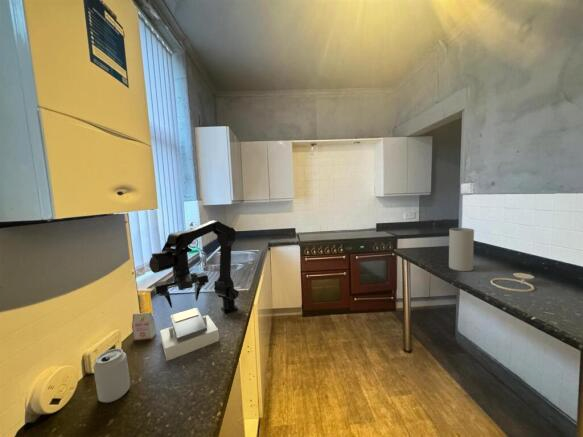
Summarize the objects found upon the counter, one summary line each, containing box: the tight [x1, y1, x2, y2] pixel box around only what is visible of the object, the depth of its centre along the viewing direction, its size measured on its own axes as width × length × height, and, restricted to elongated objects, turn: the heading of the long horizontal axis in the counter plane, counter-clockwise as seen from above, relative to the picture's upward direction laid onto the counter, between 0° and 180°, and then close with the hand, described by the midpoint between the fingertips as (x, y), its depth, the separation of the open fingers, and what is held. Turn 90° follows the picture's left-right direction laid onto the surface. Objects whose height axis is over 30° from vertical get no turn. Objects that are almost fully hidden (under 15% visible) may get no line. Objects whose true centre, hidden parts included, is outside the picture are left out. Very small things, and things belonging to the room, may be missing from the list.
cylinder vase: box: [448, 227, 475, 272], centre depth 153 cm, size 12×12×25 cm
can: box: [92, 348, 131, 403], centre depth 69 cm, size 8×8×12 cm
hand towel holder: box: [490, 272, 535, 293], centre depth 127 cm, size 17×4×21 cm
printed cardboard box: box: [131, 312, 157, 341], centre depth 98 cm, size 4×7×10 cm, turn 94°
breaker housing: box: [159, 314, 220, 362], centre depth 93 cm, size 14×18×8 cm
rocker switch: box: [170, 307, 207, 342], centre depth 93 cm, size 14×10×2 cm
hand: (184, 303), depth 96 cm, fingers open, 9 cm apart
